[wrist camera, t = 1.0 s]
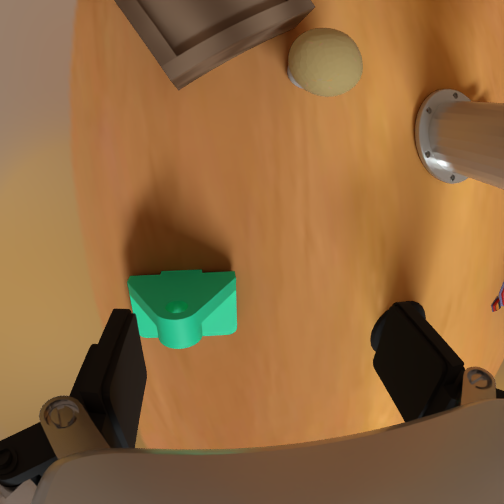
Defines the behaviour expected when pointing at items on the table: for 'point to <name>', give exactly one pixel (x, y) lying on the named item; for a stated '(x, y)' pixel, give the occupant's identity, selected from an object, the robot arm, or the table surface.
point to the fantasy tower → (496, 304)
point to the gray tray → (208, 30)
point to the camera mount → (184, 305)
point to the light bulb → (324, 62)
